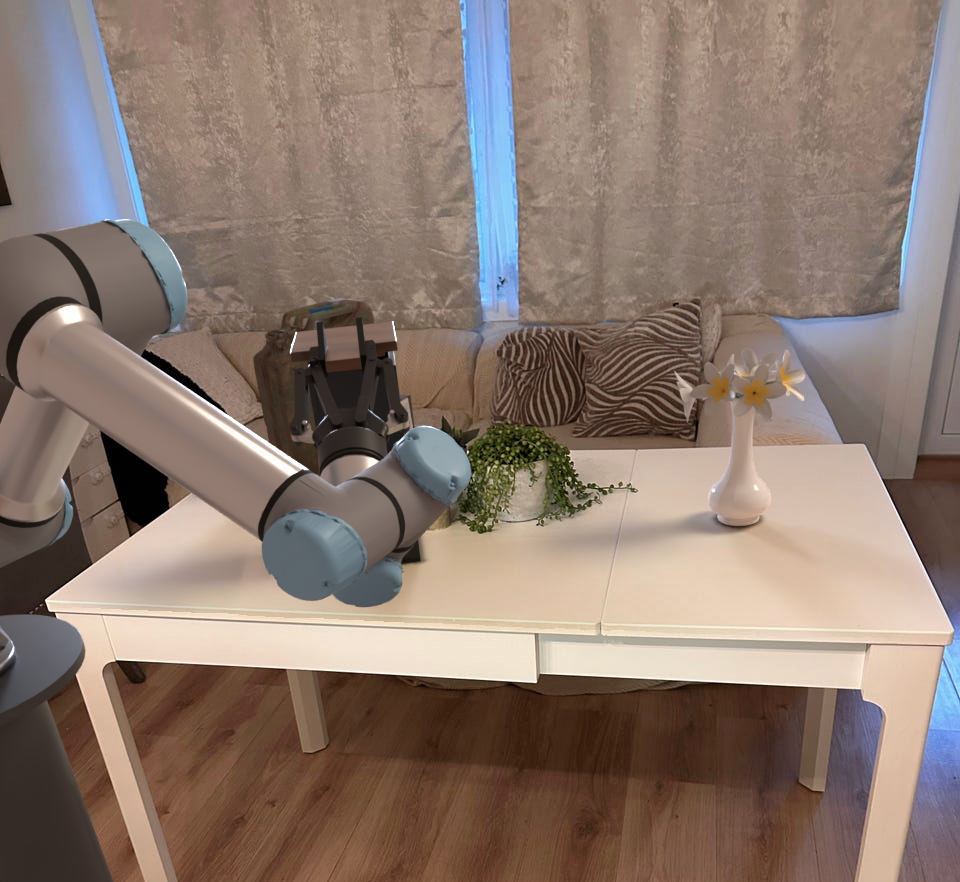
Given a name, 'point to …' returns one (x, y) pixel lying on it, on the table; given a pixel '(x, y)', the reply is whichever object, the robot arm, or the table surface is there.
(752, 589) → the table surface
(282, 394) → the container
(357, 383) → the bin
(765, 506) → the flower vase
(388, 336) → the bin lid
